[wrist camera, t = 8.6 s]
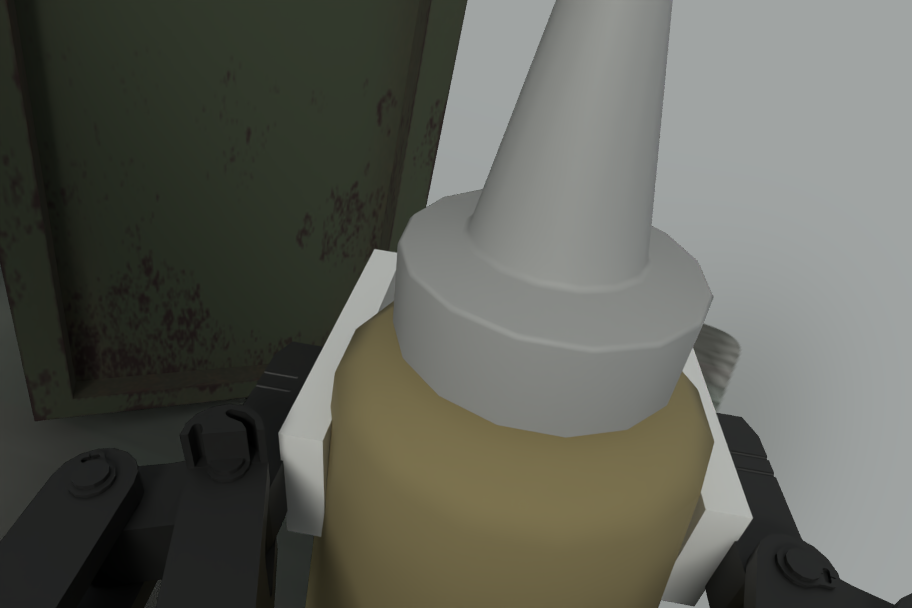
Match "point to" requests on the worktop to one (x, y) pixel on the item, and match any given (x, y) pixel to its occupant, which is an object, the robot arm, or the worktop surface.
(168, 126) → the first aid box
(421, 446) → the squeeze bottle
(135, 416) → the worktop surface
